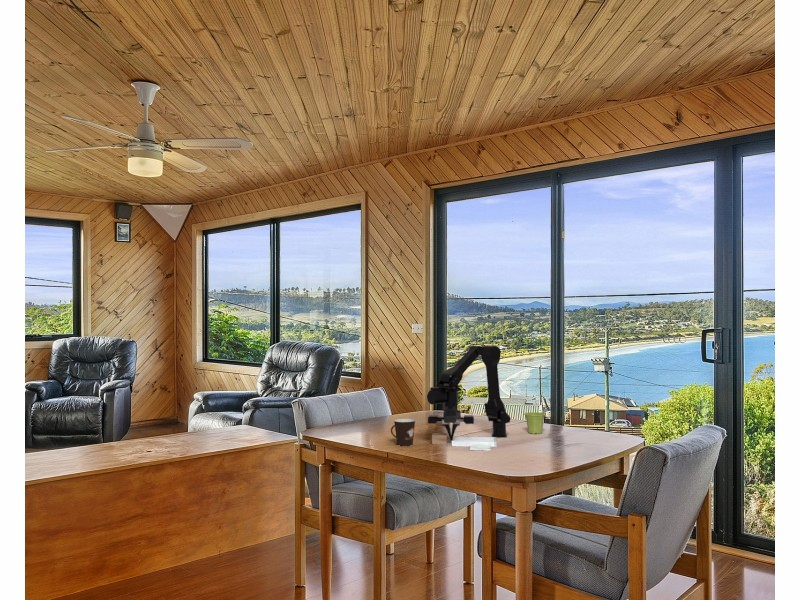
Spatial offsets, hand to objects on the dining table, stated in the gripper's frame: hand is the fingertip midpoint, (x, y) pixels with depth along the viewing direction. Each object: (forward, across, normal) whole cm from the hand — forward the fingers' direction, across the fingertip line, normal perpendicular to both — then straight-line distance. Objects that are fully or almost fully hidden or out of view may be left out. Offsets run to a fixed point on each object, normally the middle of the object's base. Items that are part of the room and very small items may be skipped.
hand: (451, 440), depth 254 cm
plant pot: (+2, +36, +28) cm, 46 cm away
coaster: (+1, +12, -10) cm, 15 cm away
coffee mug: (+2, -20, -5) cm, 21 cm away
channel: (+1, +9, 0) cm, 9 cm away
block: (+2, -5, 0) cm, 5 cm away
